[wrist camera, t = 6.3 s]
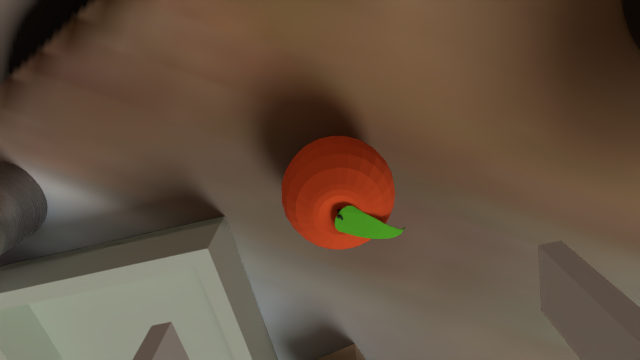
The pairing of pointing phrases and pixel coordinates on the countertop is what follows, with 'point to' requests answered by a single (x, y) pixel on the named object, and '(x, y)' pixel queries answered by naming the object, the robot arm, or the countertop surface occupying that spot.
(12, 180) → the metal can
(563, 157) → the countertop surface
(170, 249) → the sage tray
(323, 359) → the wood block
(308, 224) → the clementine
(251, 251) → the countertop surface
